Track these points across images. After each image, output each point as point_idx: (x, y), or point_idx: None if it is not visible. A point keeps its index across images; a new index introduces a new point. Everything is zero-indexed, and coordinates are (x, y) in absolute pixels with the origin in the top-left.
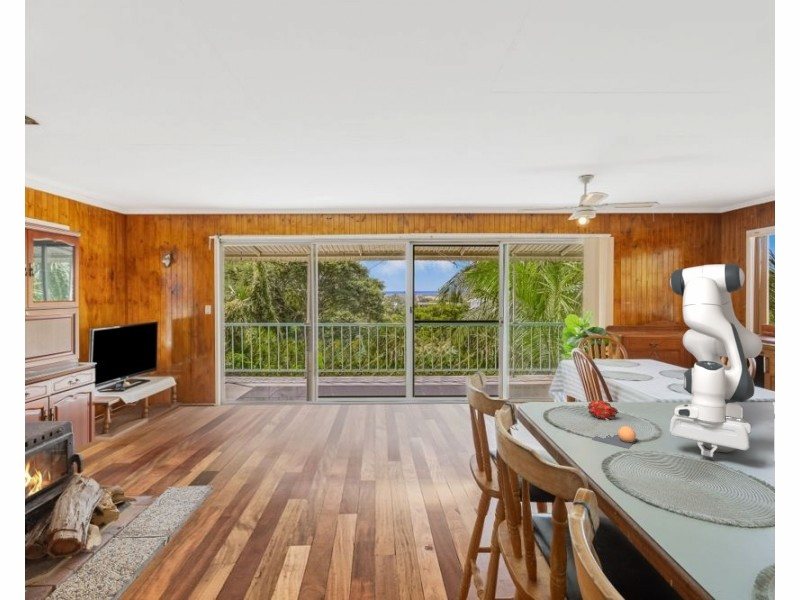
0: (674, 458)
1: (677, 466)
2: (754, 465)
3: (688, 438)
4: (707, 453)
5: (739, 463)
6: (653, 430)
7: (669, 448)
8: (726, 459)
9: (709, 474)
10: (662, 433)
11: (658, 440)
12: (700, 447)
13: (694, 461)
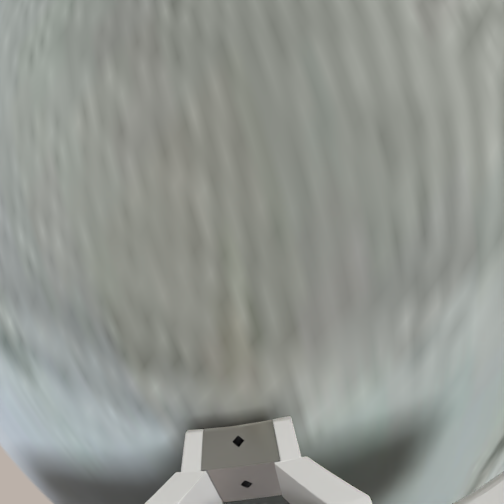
0: (456, 209)
1: (376, 11)
2: (59, 483)
3: (498, 477)
4: (233, 445)
5: (99, 477)
6: None
7: (478, 389)
8: None
9: (108, 40)
10: (464, 495)
11: (500, 430)
12: (317, 473)
13: (318, 291)
